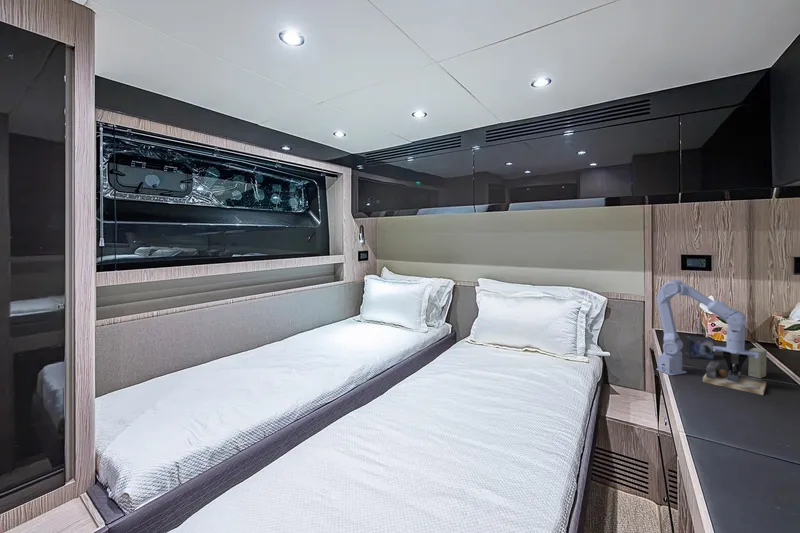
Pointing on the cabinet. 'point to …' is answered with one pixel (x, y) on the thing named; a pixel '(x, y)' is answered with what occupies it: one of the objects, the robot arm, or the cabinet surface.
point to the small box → (699, 347)
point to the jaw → (734, 373)
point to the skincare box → (757, 363)
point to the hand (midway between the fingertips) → (734, 370)
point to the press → (721, 379)
